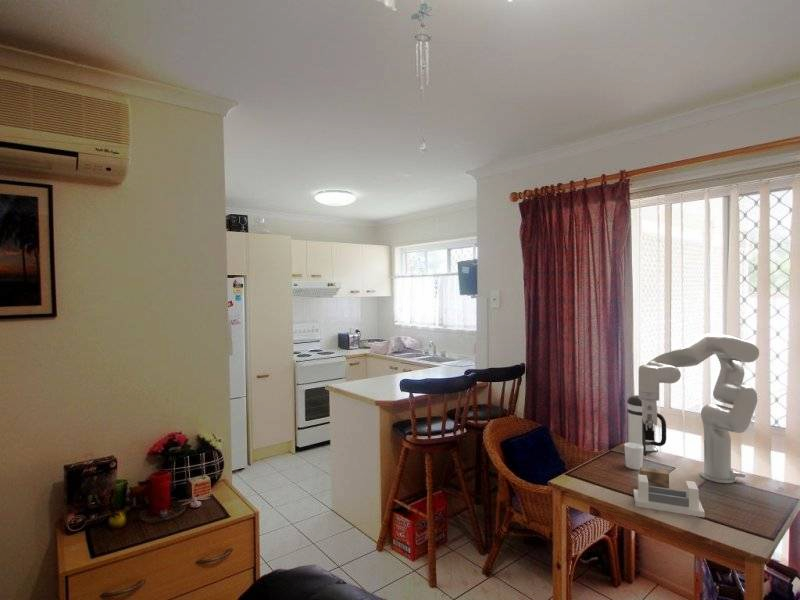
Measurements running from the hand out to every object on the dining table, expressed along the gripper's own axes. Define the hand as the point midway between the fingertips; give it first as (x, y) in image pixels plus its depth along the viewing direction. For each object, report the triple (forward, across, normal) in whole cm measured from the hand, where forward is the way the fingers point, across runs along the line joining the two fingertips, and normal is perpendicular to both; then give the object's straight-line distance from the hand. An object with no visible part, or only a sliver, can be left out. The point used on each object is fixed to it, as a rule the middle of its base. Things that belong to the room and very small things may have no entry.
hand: (648, 436), depth 184 cm
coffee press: (+21, +45, 0) cm, 50 cm away
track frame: (+21, -14, -5) cm, 26 cm away
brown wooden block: (+21, -2, -2) cm, 21 cm away
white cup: (+21, +21, +5) cm, 30 cm away
